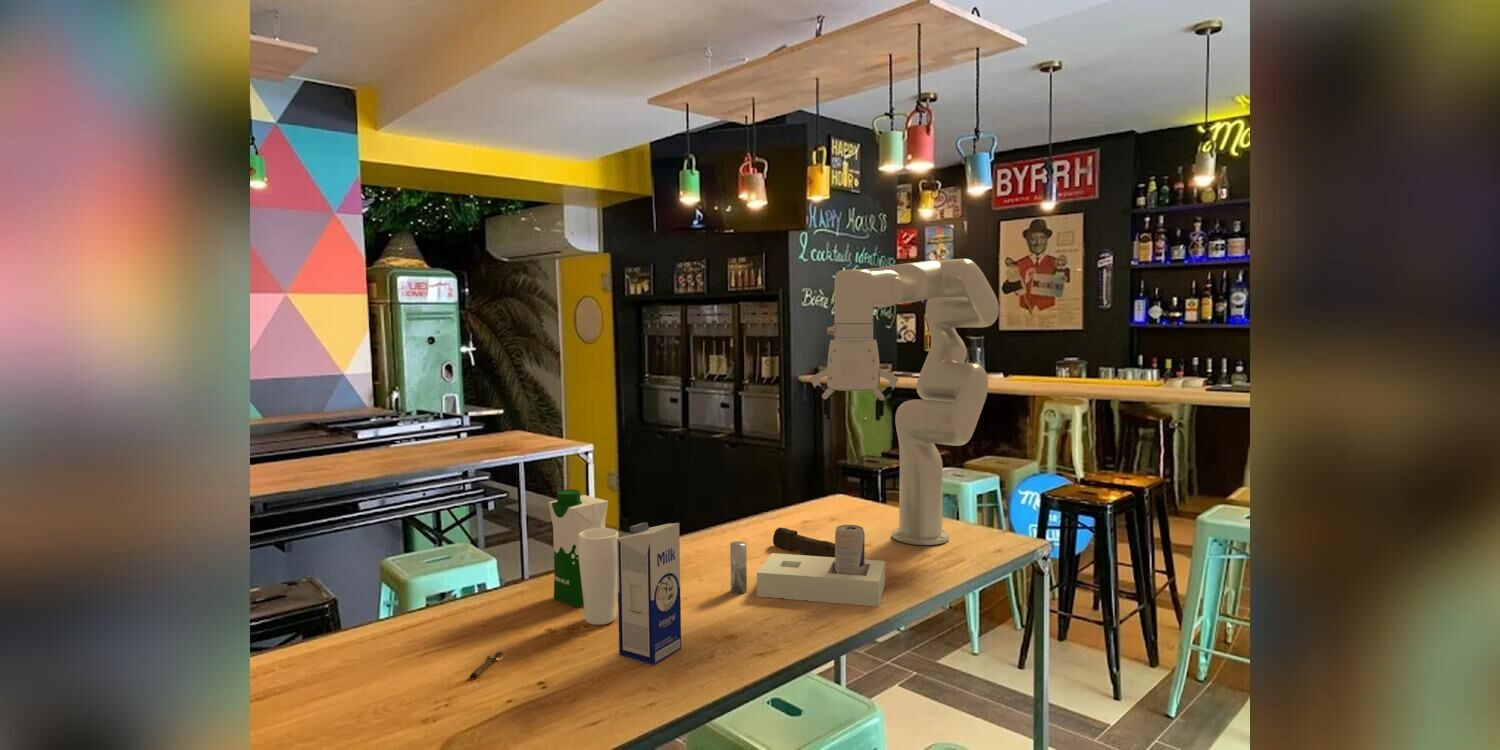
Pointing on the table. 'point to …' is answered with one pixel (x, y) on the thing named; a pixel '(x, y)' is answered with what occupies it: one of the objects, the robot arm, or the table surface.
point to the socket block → (819, 580)
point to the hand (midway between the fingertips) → (853, 419)
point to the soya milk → (572, 540)
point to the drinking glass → (598, 574)
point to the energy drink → (849, 550)
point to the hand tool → (802, 543)
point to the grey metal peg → (738, 567)
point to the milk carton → (649, 592)
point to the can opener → (484, 666)
